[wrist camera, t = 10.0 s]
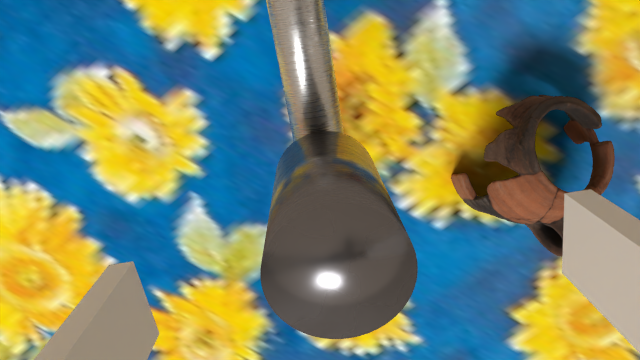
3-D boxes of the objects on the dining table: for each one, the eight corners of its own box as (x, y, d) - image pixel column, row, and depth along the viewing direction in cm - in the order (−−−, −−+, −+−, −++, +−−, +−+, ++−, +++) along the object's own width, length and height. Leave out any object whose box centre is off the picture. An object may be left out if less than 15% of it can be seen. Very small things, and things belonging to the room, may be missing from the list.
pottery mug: (420, 151, 35) (488, 127, 27) (500, 93, 38) (583, 57, 30) (500, 278, 36) (589, 291, 28) (573, 212, 38) (673, 206, 31)
